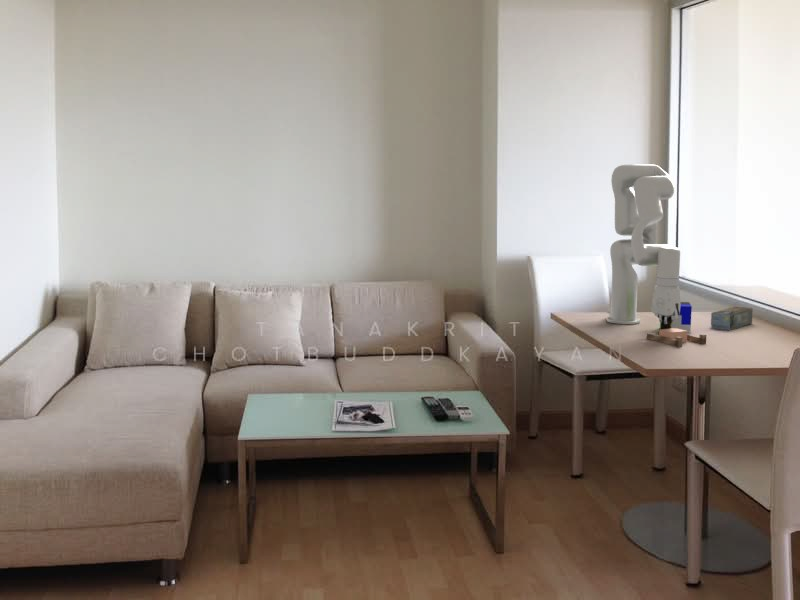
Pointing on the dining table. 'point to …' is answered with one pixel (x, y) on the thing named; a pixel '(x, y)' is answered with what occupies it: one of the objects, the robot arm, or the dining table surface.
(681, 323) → the puzzle toy
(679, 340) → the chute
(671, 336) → the block
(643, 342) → the dining table surface
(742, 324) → the beverage carton
